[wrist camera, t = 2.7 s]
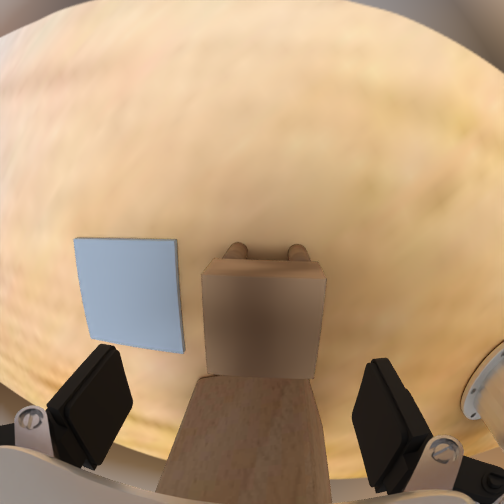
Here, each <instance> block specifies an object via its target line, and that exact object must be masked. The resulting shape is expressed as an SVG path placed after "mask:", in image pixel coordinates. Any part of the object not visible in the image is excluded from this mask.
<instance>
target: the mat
mask: <svg viewBox="0 0 504 504" xmlns="http://www.w3.org/2000/svg"><path fill="white" fill-rule="evenodd" d="M74 248H75V256H76V264H77V271H78V278H79V284H80V290H81V295H82V300H83V306H84V310H85V315H86V320H87V324H88V329H89V333H90V337H91V339H96V340H101V341H106V342H111V343H116V344H121V345H127V346H133V347H139V348H145V349H151V350H158V351H165V352H173V353H180V354H184V352H185V344H184V334H183V324H182V313H181V302H180V288H179V273H178V256H177V240H176V239H128V238H75V239H74Z"/></svg>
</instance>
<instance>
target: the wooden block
mask: <svg viewBox="0 0 504 504" xmlns="http://www.w3.org/2000/svg"><path fill="white" fill-rule="evenodd" d="M155 492H156V493H160V494H164V495H169V496H174V497H179V498H184V499H190V500H196V501H203V502H211V503H219V504H332V498H331V489H330V480H329V472H328V464H327V456H326V449H325V441H324V434H323V427H322V423H321V420H320V416H319V413H318V409H317V406H316V402H315V399H314V396H313V392H312V389H311V385H310V382H309V379H285V378H258V377H241V376H228V375H220V376H214V377H207V378H201V379H200V380H198V381H197V384H196V386H195V389H194V391H193V394H192V397H191V399H190V402H189V404H188V407H187V410H186V412H185V415H184V418H183V420H182V423H181V425H180V428H179V431H178V433H177V436H176V438H175V441H174V444H173V446H172V449H171V452H170V454H169V457H168V459H167V462H166V465H165V467H164V470H163V473H162V475H161V478H160V481H159V483H158V486H157V489H156V491H155Z"/></svg>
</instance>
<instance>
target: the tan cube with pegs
mask: <svg viewBox="0 0 504 504" xmlns="http://www.w3.org/2000/svg"><path fill="white" fill-rule="evenodd" d="M247 253H248V250H247V247H246V246H245V245H244V244H242V243H239V242H237V243H234V244H232V245H231V246H230V248H229V249H228V251H227V252H226V254H225V255H224V257H223V258H222V259H220V258H214V259H213V260H212V261H211V263H210V264H209V265H208V267H207V268H206V269H205V270H204V272H203V273H202V274H201V277H202V299H203V318H204V334H205V348H206V361H207V373H208V374H217V375H228V376H241V377H258V378H285V379H314V374H315V367H316V361H317V354H318V347H319V340H320V333H321V325H322V317H323V309H324V300H325V291H326V281H327V279H326V277H325V275H324V273H323V271H322V269H321V267H320V265H319V263H318V262H311V260H310V258H309V256H308V253H307V251H306V249H305V247H304V246H302V245H299V244H296V245H293V246H291V247H290V249H289V251H288V258H289V261H277V260H248V259H246V256H247Z"/></svg>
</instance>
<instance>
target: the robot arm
mask: <svg viewBox="0 0 504 504" xmlns="http://www.w3.org/2000/svg"><path fill="white" fill-rule="evenodd" d="M132 405H133V399H132V396H131V393H130V389H129V386H128V382H127V379H126V375H125V372H124V368H123V364H122V360H121V356H120V353H119V351H118V350H116V348H115V347H114V346H111V345H106V344H100V345H99V346H98V347H97V348H96V349H95V350H94V351H93V352H92V353H91V354H90V355H89V357H88V358H87V359H86V360H85V361H84V362H83V363H82V364H81V365H80V367H79V368H78V369H77V370H76V371H75V372H74V373H73V375H72V376H71V377H70V378H69V379H68V380H67V381H66V382H65V384H64V385H63V386H62V387H61V388H60V389H59V391H58V392H57V393H56V394H55V395H54V396H53V398H52V399H51V400H50V401H49V402H48V403H47V407H48V408H47V409H46V411H45V410H44V409H43V408H41V407H39V406H28V407H25V408H23V409H21V410H20V411H19V412H18V413H17V415H16V416H15V423H12V424H7V425H2V426H0V504H219V503H211V502H203V501H196V500H190V499H184V498H179V497H174V496H169V495H164V494H160V493H156V492H151V491H147V490H144V489H140V488H136V487H133V486H129V485H126V484H123V483H119V482H116V481H113V480H110V479H107V478H104V477H102V476H99V475H96V474H93V473H91V472H88V471H85V470H83V469H81V467H82V465H83V466H84V467H86V468H89V469H91V470H95V469H96V467H97V465H101V464H102V462H103V460H104V458H105V457H106V455H107V453H108V451H109V449H110V447H111V445H112V443H113V441H114V440H115V438H116V436H117V434H118V432H119V430H120V428H121V427H122V425H123V423H124V421H125V419H126V417H127V416H128V414H129V412H130V410H131V408H132ZM461 410H462V412H463V414H464V415H465V416H466V418H468V419H471V420H476V419H481V418H482V420H483V421H484V423H485V424H486V426H487V427H488V429H489V430H490V432H491V433H492V435H493V437H494V438H495V440H496V441H497V443H498V444H499V446H500V448H501V449H502V451H503V452H504V342H503V343H501V344H500V345H499V346H498V347H497V348H495V349H494V350H493V351H492V352H491V353H490V354H489V355H488V356H487V357H486V359H485V360H484V361H483V362H482V363H481V364H480V366H479V367H478V368H477V370H476V371H475V373H474V374H473V376H472V377H471V379H470V381H469V382H468V384H467V386H466V388H465V391H464V393H463V396H462V400H461ZM352 422H353V425H354V429H355V432H356V436H357V439H358V443H359V447H360V450H361V454H362V458H363V461H364V465H365V469H366V473H367V477H368V480H369V484H370V486H371V487H375V491H376V493H380V492H385V491H387V494H388V495H387V496H380V497H375V498H369V499H364V500H357V501H350V502H342V503H333V504H504V469H502V468H500V467H498V466H495V465H491V464H488V463H485V462H481V461H478V460H475V459H472V458H469V457H466V456H463V452H464V450H463V446H462V445H461V443H460V442H459V441H458V440H457V439H456V438H454V437H452V436H448V435H438V436H436V437H433V435H432V433H431V431H430V429H429V427H428V425H427V423H426V421H425V419H424V418H423V416H422V414H421V412H420V410H419V408H418V406H417V405H416V403H415V401H414V399H413V397H412V396H411V394H410V392H409V391H408V390H407V389H405V387H404V385H403V384H402V382H401V380H400V378H399V376H398V375H397V373H396V371H395V369H394V368H393V366H392V364H391V363H390V361H389V359H388V358H378V359H372V361H371V363H367V365H366V368H365V372H364V376H363V379H362V383H361V386H360V390H359V393H358V396H357V400H356V403H355V406H354V409H353V412H352Z"/></svg>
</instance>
